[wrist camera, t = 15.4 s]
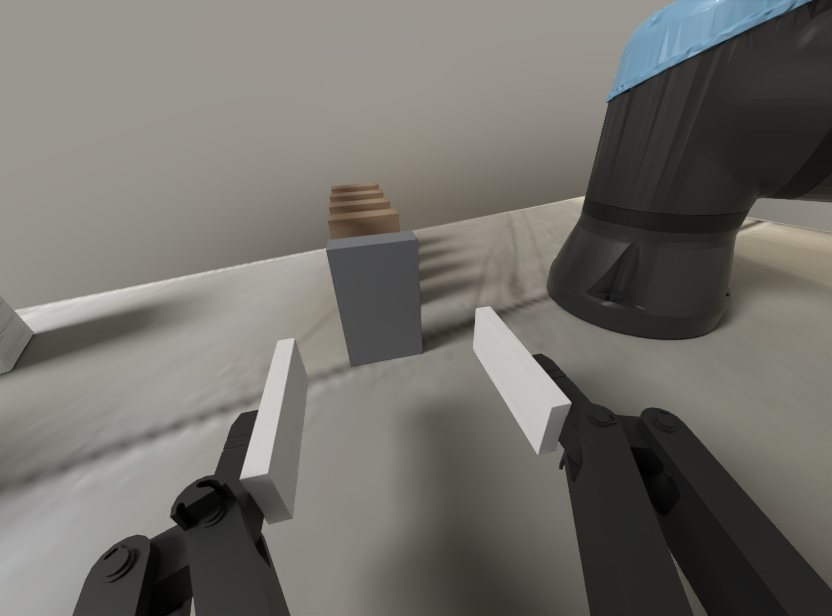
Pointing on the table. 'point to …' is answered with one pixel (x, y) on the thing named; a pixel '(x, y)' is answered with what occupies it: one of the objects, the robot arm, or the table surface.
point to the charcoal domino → (378, 295)
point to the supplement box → (11, 336)
